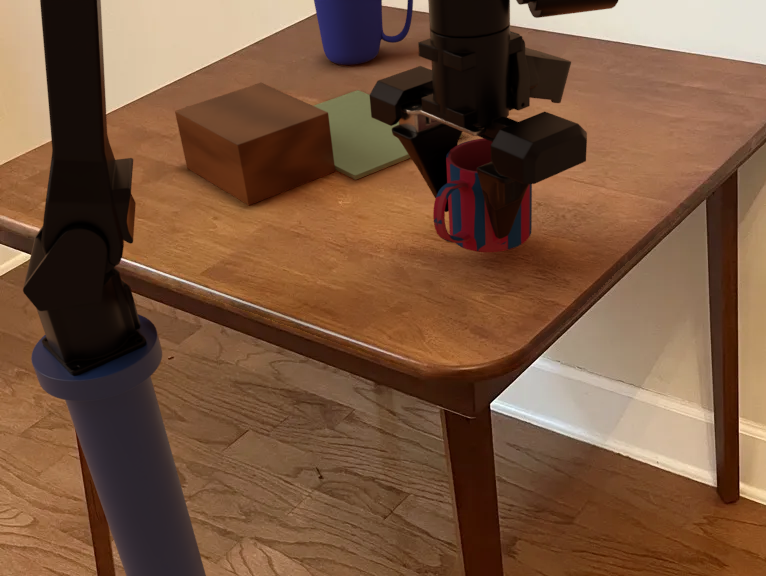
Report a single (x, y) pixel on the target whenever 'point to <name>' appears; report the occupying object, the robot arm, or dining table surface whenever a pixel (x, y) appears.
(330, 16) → the mug
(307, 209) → the dining table surface
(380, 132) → the mat
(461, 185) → the cup
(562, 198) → the dining table surface
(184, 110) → the step
